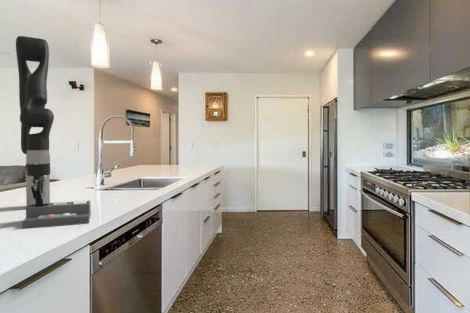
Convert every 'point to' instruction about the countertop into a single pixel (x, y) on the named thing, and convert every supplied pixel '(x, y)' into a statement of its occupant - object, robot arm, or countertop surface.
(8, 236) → the countertop surface
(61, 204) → the key sage
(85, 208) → the keypad
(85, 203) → the key cream
